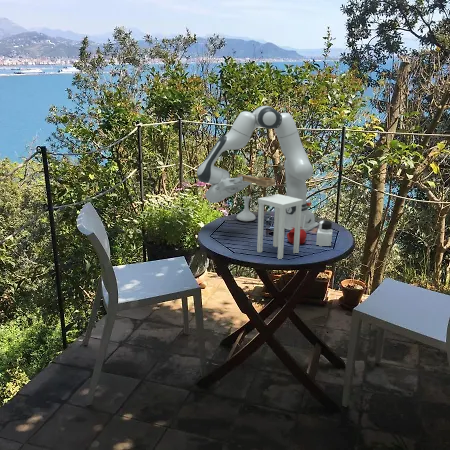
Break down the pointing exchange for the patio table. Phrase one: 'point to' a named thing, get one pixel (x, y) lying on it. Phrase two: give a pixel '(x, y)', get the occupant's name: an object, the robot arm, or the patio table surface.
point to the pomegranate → (291, 236)
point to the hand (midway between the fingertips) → (245, 177)
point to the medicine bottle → (324, 234)
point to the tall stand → (279, 221)
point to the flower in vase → (246, 209)
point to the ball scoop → (259, 180)
